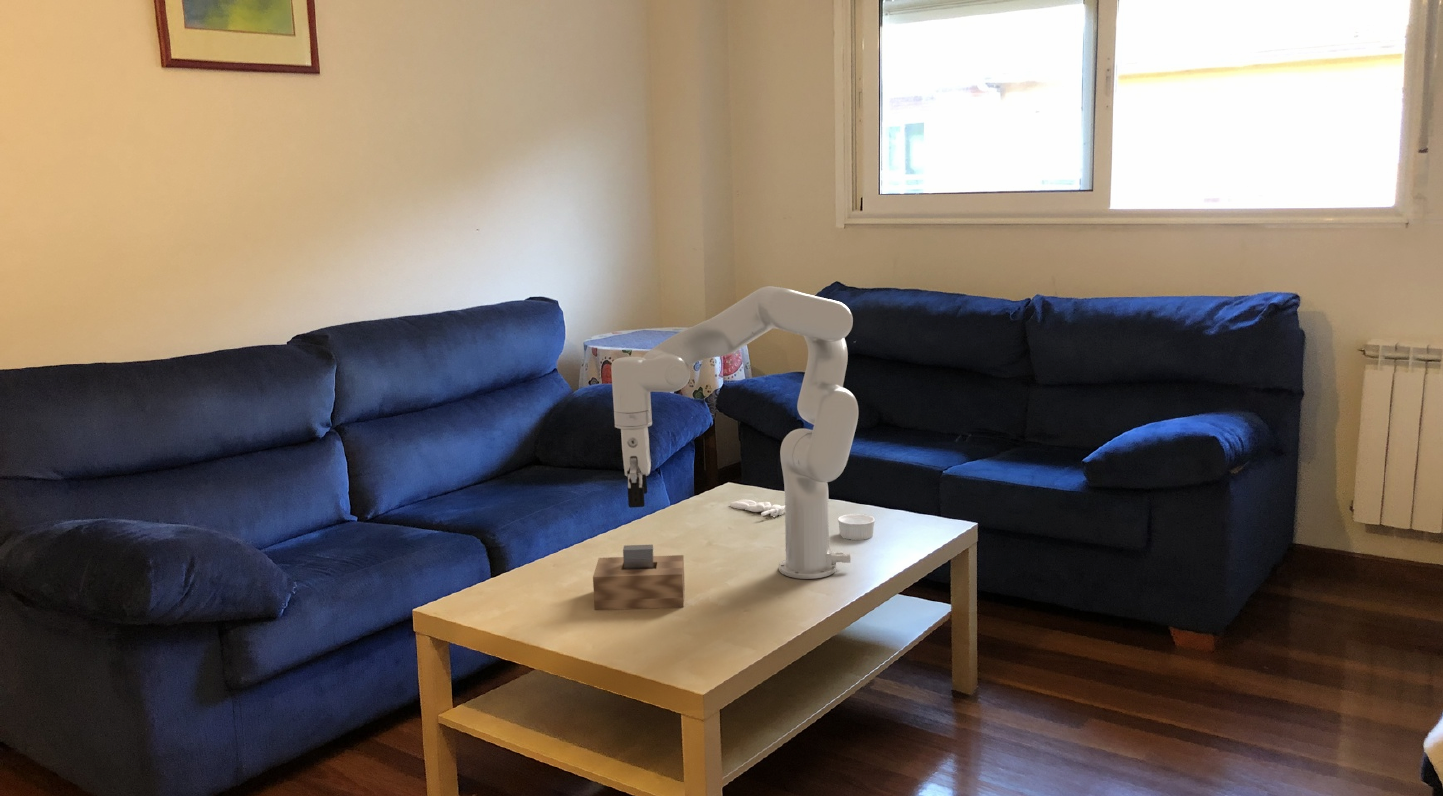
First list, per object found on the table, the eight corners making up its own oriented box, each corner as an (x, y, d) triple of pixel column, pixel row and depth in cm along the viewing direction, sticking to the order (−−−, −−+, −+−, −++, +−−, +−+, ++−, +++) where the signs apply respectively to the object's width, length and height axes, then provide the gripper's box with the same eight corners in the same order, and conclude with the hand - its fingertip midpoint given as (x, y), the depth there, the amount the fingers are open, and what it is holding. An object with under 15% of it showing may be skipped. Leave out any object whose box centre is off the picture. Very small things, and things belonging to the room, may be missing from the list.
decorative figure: (717, 504, 292) (764, 509, 279) (749, 495, 300) (797, 499, 287) (718, 517, 292) (766, 522, 279) (750, 507, 300) (798, 512, 287)
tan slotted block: (684, 586, 235) (683, 555, 233) (683, 607, 223) (682, 574, 221) (600, 589, 234) (598, 557, 233) (594, 609, 223) (592, 577, 221)
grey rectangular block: (654, 585, 230) (652, 544, 228) (654, 590, 227) (652, 549, 225) (625, 586, 230) (624, 545, 228) (624, 591, 227) (623, 550, 225)
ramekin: (839, 529, 271) (839, 512, 271) (876, 531, 270) (875, 513, 269) (836, 540, 263) (836, 523, 262) (873, 542, 261) (873, 524, 260)
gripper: (649, 426, 213) (654, 511, 216) (653, 409, 230) (658, 487, 233) (610, 428, 213) (616, 513, 216) (618, 410, 230) (623, 489, 233)
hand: (638, 500), depth 225 cm, fingers open, 9 cm apart
